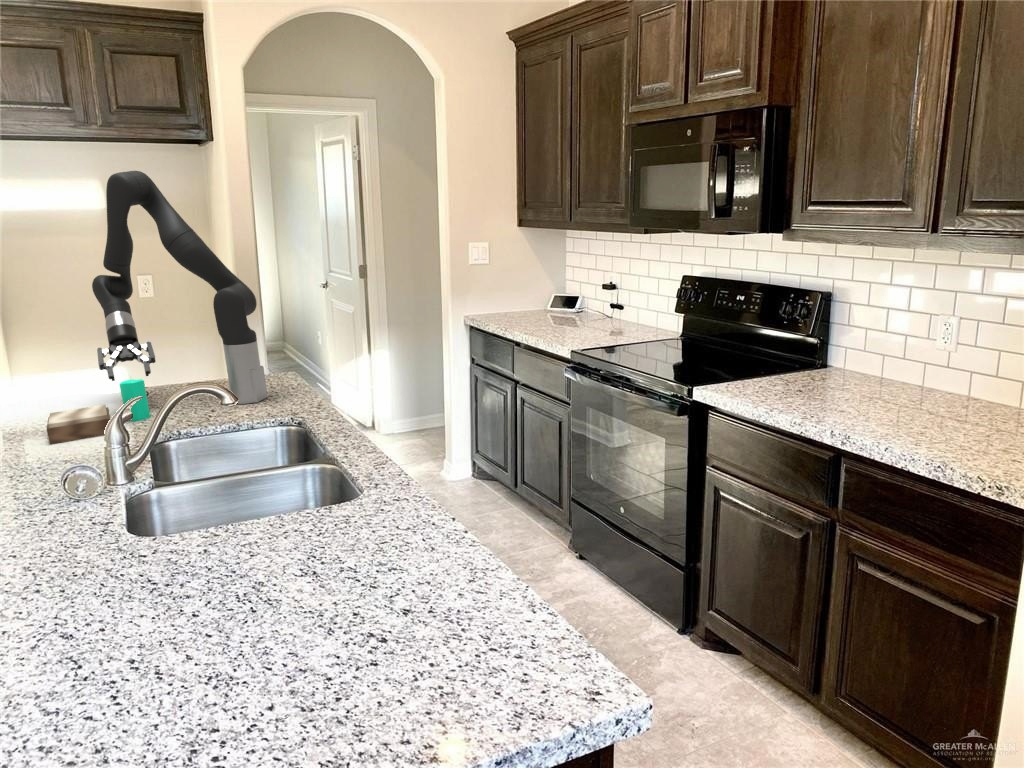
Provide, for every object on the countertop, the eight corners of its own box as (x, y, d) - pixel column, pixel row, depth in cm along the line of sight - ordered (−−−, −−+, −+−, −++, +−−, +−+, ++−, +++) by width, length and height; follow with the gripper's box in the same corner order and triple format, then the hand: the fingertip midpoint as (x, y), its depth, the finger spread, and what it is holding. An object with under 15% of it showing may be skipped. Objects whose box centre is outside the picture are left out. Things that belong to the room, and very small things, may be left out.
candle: (143, 420, 204) (135, 377, 201) (121, 421, 205) (113, 378, 202) (154, 414, 210) (146, 372, 207) (133, 415, 210) (125, 373, 207)
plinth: (110, 421, 206) (107, 403, 204) (112, 433, 194) (109, 414, 192) (51, 431, 199) (47, 413, 198) (49, 444, 187) (45, 425, 186)
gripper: (91, 326, 210) (100, 373, 203) (147, 319, 216) (157, 365, 209) (95, 342, 216) (103, 388, 208) (149, 335, 222) (159, 380, 215)
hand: (130, 376), depth 209 cm, fingers open, 8 cm apart
